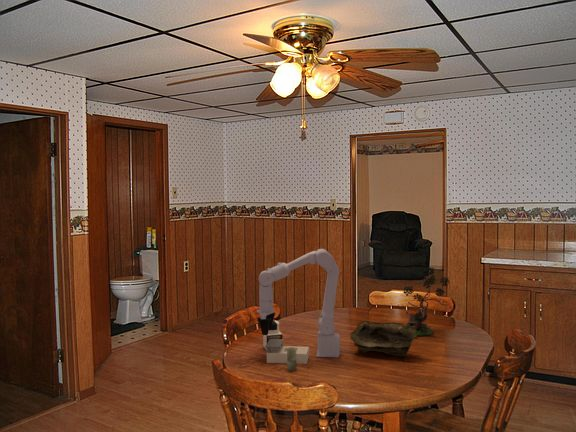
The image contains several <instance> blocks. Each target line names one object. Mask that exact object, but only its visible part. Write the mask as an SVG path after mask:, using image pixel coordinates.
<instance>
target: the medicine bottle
mask: <svg viewBox="0 0 576 432" xmlns="http://www.w3.org/2000/svg"><path fill="white" fill-rule="evenodd" d="M270 339H283V333H282V332H281V331H280V321H278V320H275V319H273V323H272V329H271V330H269V331H268V335H262V344H263V345H262V346H263V348H264V349H265V351H266V352H268V348H265V346H266V344H267V343H268V341H269V340H270ZM281 346H284V345H283V344H282V345H281Z"/></svg>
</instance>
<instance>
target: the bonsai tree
mask: <svg viewBox="0 0 576 432" xmlns="http://www.w3.org/2000/svg"><path fill="white" fill-rule="evenodd" d="M434 270H435V268H434V267H430V266H429V267H428V266H427V267H426V266H425V267H423V266H421V267H419V268H418V272H417V274H418V276H419V277H421V276H422V275H423V277H424V278H425V281H424V282H423V283H424V284H423V286H422V287H424V288H425V289H426V290H425V291H426V294H425V295H424V296H422V294H419V293H417V292H416V293H414V292H415V291H414V289H413V288H414V287H413V286H412V285H411V286H409V285H408V286H407V285H405V286H404V287H403V289H404V290H403V294H404V295H406V297H408V296H409V295H410V296H411V295H413V297H414V299H413V300H416V302H419V306H417V305H414V304H412V303H410V302H411V300H410V301H408V302H407V303H408V304H409V305H410V306H412V307H414V308H416V309H417V308H418V312H416V313H413V312H410V311H409V312H408V311H405V313H406V315H408V316H407V323H406V324H405V326H407V327H412V328H414V329H415V330H417V337H420V336H421V337H423V336H432V335H434V332H435V331H434V330H433V329H431V326H428V324H427V323H425V321H426V320H427V318H428V312H427V310H428V307H429V302H428V301H437V302H439V304H440V305H441V306H444V302H446V303H447V304H446V306H449V302H448V301H446V300H442V303H441V301H440V300H438V299H435V298H429V297H430V296H431V289H430V288H431V287H432V286H434V285H436V283H437V282H436V280H437V279H436V276H435V271H434ZM425 276H427V277H428V278H426V277H425ZM438 283H440V284H442V285H441V286H442V287H448V285H449V284H451V281H450V278H448V277H447V276H441V279H440V280H439V282H438ZM434 292H435V293H436V295H437V296H439V297H443V296H444V295H445V293H447V292H446V291H445V290H443V288H440V287H438V288H437V289H436V290H434ZM424 303H426V305H425V306H424Z"/></svg>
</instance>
